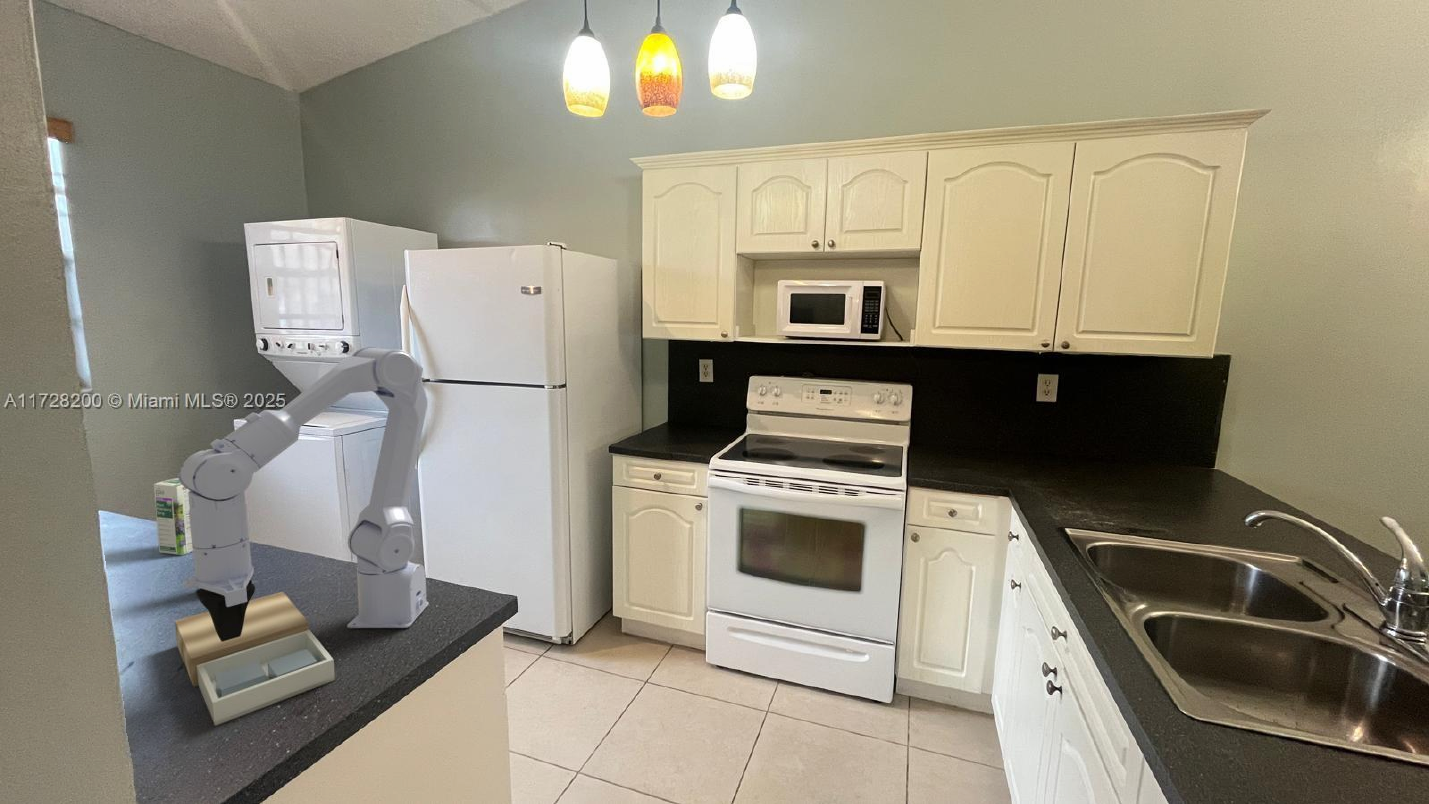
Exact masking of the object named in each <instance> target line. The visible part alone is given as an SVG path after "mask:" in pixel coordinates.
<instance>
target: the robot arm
mask: <svg viewBox="0 0 1429 804" xmlns="http://www.w3.org/2000/svg"><path fill="white" fill-rule="evenodd" d="M423 371H424V369H423V366H422V365H420V363H419V362H418V361H417V359H415V358H414V356H413V355H412V354H411V353H409V352H407V351H405V350H403V349H386V348H378V347H374V346H365V347H361V348H358V349H357V350H356V351H354V352H353V353H352V354H351V355H349V356H346V357H344V358H342V359H341V360H340V361H339V362H338V363H337V364H336V365H335V366H334V367H333V368H332V369H330V370H329V371H327V373H325V374H324V375H323V376H321V377H320V378H319V379H318V380H317V381H315V382H314V383H312V385H310V386H309V387H308V388H306V389H305V390H304V391H302V392H301V393H300V394H299V395H297V396H296V397H295V398H294V399H292V400H291V401H289V403H287V404H286V405H285V406H284V407H283V408H280V409H279V410H276V409H275V410H272V409H265V410H262V411H261V412H259V413H256V412H251V413H249V414H248V415H246V416H245V417H244V420H245V421H246V422H245V423H244V424H242V425H241V426H239V427H238V428H236V429H235V430H233V431H232V432H231V433H229V434H228V435H226V436H225V437H223V438H222V439H218V438H216V439H214V440H213V441H212V442H210V446H211V447H212V448H211V449H206V450H200V451H197V452H195V453H193V454H191V455H190V456H189V457H187V458H186V459H185V461H184V462H183V463H182V464H183V466H181V467H180V472H178V473H177V478H178V479H179V481H180V483H181V484H182V485H183V486H184V487H185V488H187V489H188V490H190V491H189V492H188V496H189V506H190V510H189V519H190V529H191V539H192V548H193V552H192V556H193V567H194V576H191V577H188V578H185V579H183V580H182V582H183V583H182V584H183V587H184V588H185V589H188V590H189V589H192V588H199V589H197V590H196V591H195V595H196V596H197V597H198V600H199V602H200V603H201V604H202V605H203V606H204V607H205V608H206V610H207V612H209V613H210V615H211V618H212V621H213V624H214V627H215V630H216V632H217V635H218V636H219V638H220V640H221V642H223V641H226V640H230V639H233V638H236V637H240V636H241V633H242V629H243V624H244V618H245V613H246V609H247V606H248V603H249V601H250V600H252V597H253V596H254V594H255V591H256V586H255V585H254V584H253V582H252V577H253V575H254V572H255V571H254V569H255V568H254V565H252V557H251V555H252V554H251V545H250V536H249V534H250V533H249V523H248V522H249V521H248V511H247V503H246V497H245V491H246V490H247V489H248V487H249V486H250V485H251V483H252V480H253V475H254V473H256V472H258V471H260V469H262V468H264V467H265V466H266V465H267V464H269V463H270V462H271V461H272V460H274V459H275V458H277V457H278V456H279V455H281V454H283V452H285V451H286V450H287V449H289V448H290V447H291V446H292V445H293V444H295V443H296V442H297V441H298V440H299V437H300V429H301V427H303V426H304V425H305V424H307V423H308V422H310V421H311V420H313V419H314V418H316V417H318V416H319V415H320V414H321V413H323V412H325V411H327V409H329V408H330V407H332V406H333V405H336V403H338V402H339V401H341V400H342V399H343V398H346V397H347V396H349V395H350V394H355V393H356V394H357V393H365V392H366V393H369V392H373V393H375V395H376V396H377V397H378V398H379V399H380V401H382V403H383V404H384V405H385V406H386V407H387V408H388V411H387V417H386V422H385V427H384V431H383V437H382V443H381V447H380V451H379V457H378V459H377V460H378V461H377V466H376V470H375V474H374V479H373V484H372V489H371V495H370V499H369V504H368V505H367V506H366V507H364V508H363V509H362V510H361V511H360V512H359V515H358V519H357V522H356V523H355V526H354V527H353V528H352V530H351V531H350V533H349V535H348V538H347V545H348V550H349V551H350V552H351V553H352V554H353V555H354V556H356V566H355V567H356V580H357V583H356V585H357V598H358V599H357V601H358V614H357V615H356V616H355V617H354V618H353V619H352V620H351V621H350V622H349V623H347V629H396V628H397V629H404V628H405V629H406V628H409V627H411V625H412V624H414V622H415V621H416V619H418V617H419V616H420V615H421V613H423V612H424V610H425V609H426V608H427V607H428V606H429V602H428V601H427V600H428V599H427V576H426V569H425V567H424V566H423V565H422V564H419V563H413V562H412V561H411V559H412V558H413V556H414V553H415V550H416V542H415V539H414V536H413V535H414V534H413V533H414V531H413V530H414V525H415V524H414V521H413V518H412V516H411V515H410V512H409V510H408V504H409V498H410V493H411V488H412V486H413V485H412V483H413V480H414V479H413V478H414V475H415V469H416V464H417V461H418V460H417V458H418V454H419V450H420V444H421V439H422V434H423V428H424V425H425V420H426V415H427V414H426V413H427V409H428V402H429V401H428V396H427V394H426V390H425V387H424V383H423V379H422V376H423ZM410 561H411V562H410Z"/></svg>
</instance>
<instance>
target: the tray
mask: <svg viewBox="0 0 1429 804" xmlns="http://www.w3.org/2000/svg"><path fill="white" fill-rule="evenodd" d="M304 649H307V650H308V651H309V652H310V653H311V654H312V656H313V657H314V658H315V659H316V660H317V663H316V664H313V665H310V666H308V667H305V668H302V669H299V670H296V671H294V672H291V673H288V674H285V675H282V676H280V677H277V678H274V679H270V678H269V676H268V665H267V662H269V661H272V660H275V659H278V658H281V657H284V656H287V655H290V654H293V653H295V652H298V651H301V650H304ZM255 661H258V662H259V663H260V665H261V667H262V668H263V670H264V671H265V673H266V678H267V681H266V682H263V683H260V684H257V685H255V686H252V687H249V688H246V689H243V690H241V691H238V692H235V693H232V694H229V695H227V696H224V697H221V698H220V697H219V695H218V693H217V691H216V686H215V674H218V673H221V672H224V671H227V670H230V669H234V668H237V667H240V666H243V665H246V664H249V663H252V662H255ZM197 673H198V684H199V685H198V688H199V690H200V694H201V696H202V698H203V701H204V703H205V705H206V707H207V710H208V713H209V715H210V717H211V720H212V722H213V725H214V726H215V727H216V726H219V725H222V724H223V723H226V722H229V721H231V720H234V719H237V718H240V717H243V716H245V715H247V714H250V713H253V712H255V711H258V710H261V709H263V708H266V707H268V706H270V705H273V704H276V703H278V702H281V701H284V700H286V699H289V698H292V697H294V696H297V695H299V694H303V693H305V692H307V691H310V690H313V689H315V688H317V687H320V686H323V685H326V684H328V683H331V682H333V681H335V680H336V677H335V674H336V673H335V661H334V658H333V657H332V656H331V654H330V653H329V652H328V651H327V649H325V647H324V646H323V644H322V643H321V642H320V640H318V638H316V636H315V635H314V634H313V633H312V631H311V630H310V629H309V630H306V631H303V632H300V633H297V634H294V635H291V636H287V637H284V638H281V639H278V640H275V641H272V642H269V643H265V644H262V645H259V646H256V647H253V648H250V649H247V650H243V651H240V652H237V653H234V654H231V655H228V656H224V657H221V658H218V659H215V660H212V661H209V662H206V663H202V664H199V665H197Z"/></svg>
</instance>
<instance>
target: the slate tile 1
mask: <svg viewBox="0 0 1429 804" xmlns="http://www.w3.org/2000/svg"><path fill="white" fill-rule="evenodd" d="M266 681H267V678H266V673H265V671H264V670H263V668H262V667H261V665H260V663H259V662H258V661H255V662H252V663H249V664H246V665H243V666H240V667H237V668H234V669H230V670H227V671H224V672H221V673H218V674H215V686H216V691H217V693H218V695H219V697H220V698H221V697H224V696H227V695H229V694H232V693H235V692H238V691H241V690H243V689H246V688H249V687H252V686H255V685H257V684H260V683H263V682H266Z"/></svg>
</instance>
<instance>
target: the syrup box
mask: <svg viewBox="0 0 1429 804" xmlns="http://www.w3.org/2000/svg"><path fill="white" fill-rule="evenodd" d="M189 491H190V490H188V489H187V488H185V487H184V486H183V485H182V484H181V483H180V481H179V479H178V477H177V478H171V479H166V480H162V481H159V482H156V483H154V484H153V492H154V502H155V503H154V504H155V505H154V506H155V513H156V516H155V517H156V526H157V527H156V529H157V537H158V539H157V540H158V551H159V554H171V555H178V556H184V555H187V554H189V553H191V552H192V553H193V548H192V539H191V529H190V519H189V510H190V506H189V496H188V492H189Z"/></svg>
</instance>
